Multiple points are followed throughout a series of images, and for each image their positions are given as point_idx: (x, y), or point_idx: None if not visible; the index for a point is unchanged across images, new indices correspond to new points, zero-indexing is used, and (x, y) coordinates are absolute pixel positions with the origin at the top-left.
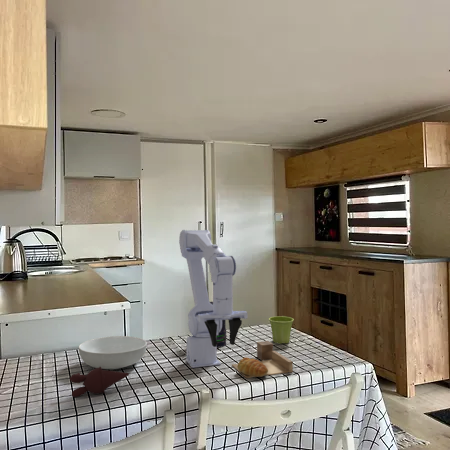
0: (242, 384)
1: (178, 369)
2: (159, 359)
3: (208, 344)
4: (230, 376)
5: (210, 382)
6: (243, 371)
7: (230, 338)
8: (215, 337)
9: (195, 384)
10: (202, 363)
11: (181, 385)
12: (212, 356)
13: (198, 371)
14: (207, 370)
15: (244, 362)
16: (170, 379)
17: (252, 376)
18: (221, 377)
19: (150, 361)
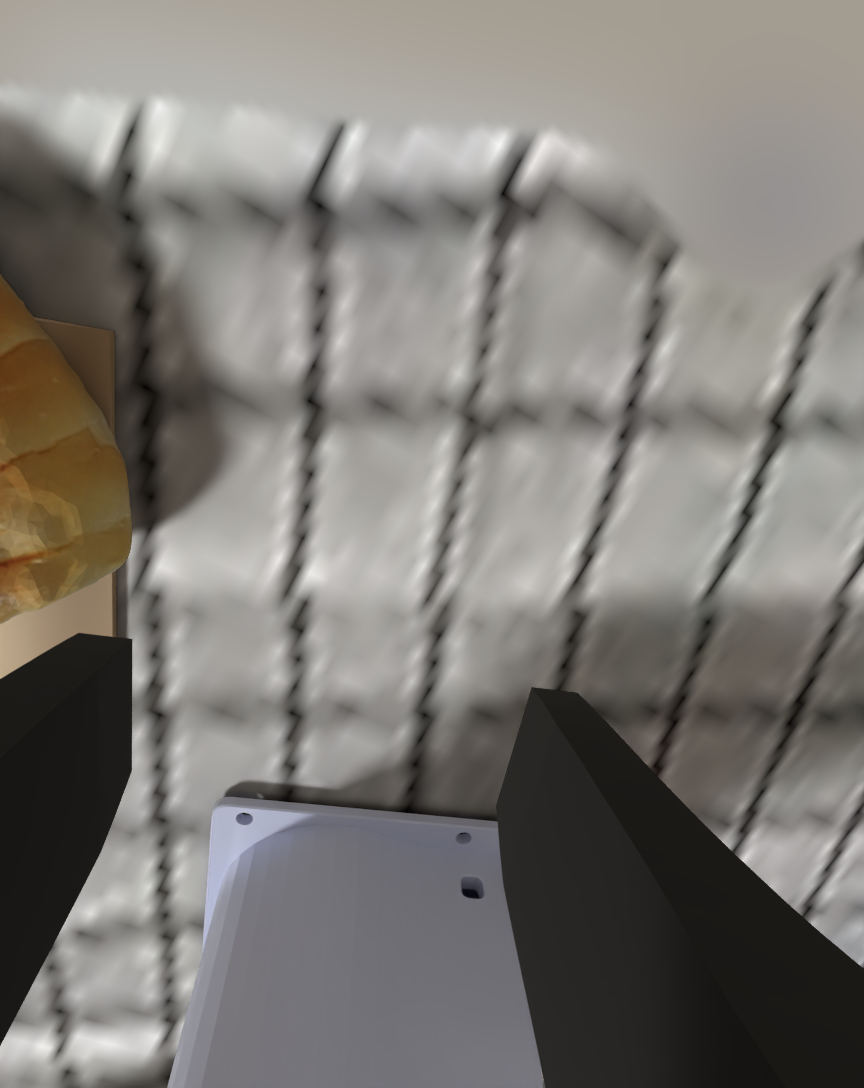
0: (253, 147)
1: None
2: None
3: (324, 1038)
4: (270, 476)
5: (558, 421)
6: (97, 420)
7: (76, 840)
8: (661, 840)
9: (720, 448)
10: (399, 847)
11: (843, 493)
12: (288, 889)
13: (495, 737)
14: (407, 725)
15: (8, 511)
16: (818, 673)
17: None
18: (376, 496)
19: None
